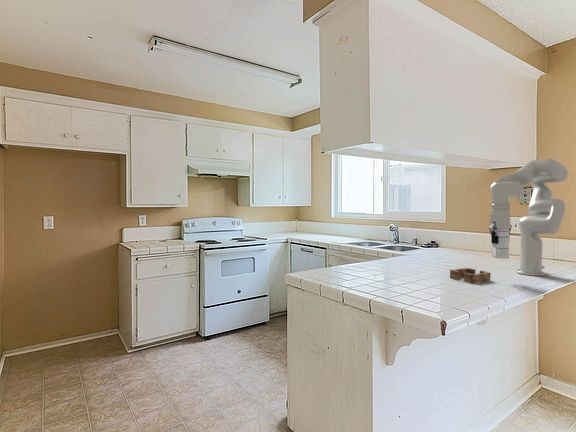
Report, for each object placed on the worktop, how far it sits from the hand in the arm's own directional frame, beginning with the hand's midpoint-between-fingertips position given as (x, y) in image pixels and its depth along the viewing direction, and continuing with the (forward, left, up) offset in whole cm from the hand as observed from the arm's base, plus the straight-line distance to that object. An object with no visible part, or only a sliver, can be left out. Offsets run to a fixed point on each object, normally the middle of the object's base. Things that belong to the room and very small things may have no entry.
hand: (500, 242), depth 164 cm
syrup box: (0, 0, -8) cm, 8 cm away
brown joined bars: (+11, -8, -19) cm, 23 cm away
